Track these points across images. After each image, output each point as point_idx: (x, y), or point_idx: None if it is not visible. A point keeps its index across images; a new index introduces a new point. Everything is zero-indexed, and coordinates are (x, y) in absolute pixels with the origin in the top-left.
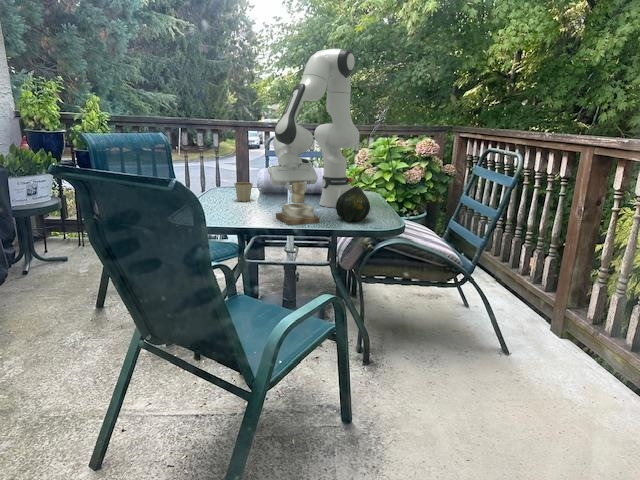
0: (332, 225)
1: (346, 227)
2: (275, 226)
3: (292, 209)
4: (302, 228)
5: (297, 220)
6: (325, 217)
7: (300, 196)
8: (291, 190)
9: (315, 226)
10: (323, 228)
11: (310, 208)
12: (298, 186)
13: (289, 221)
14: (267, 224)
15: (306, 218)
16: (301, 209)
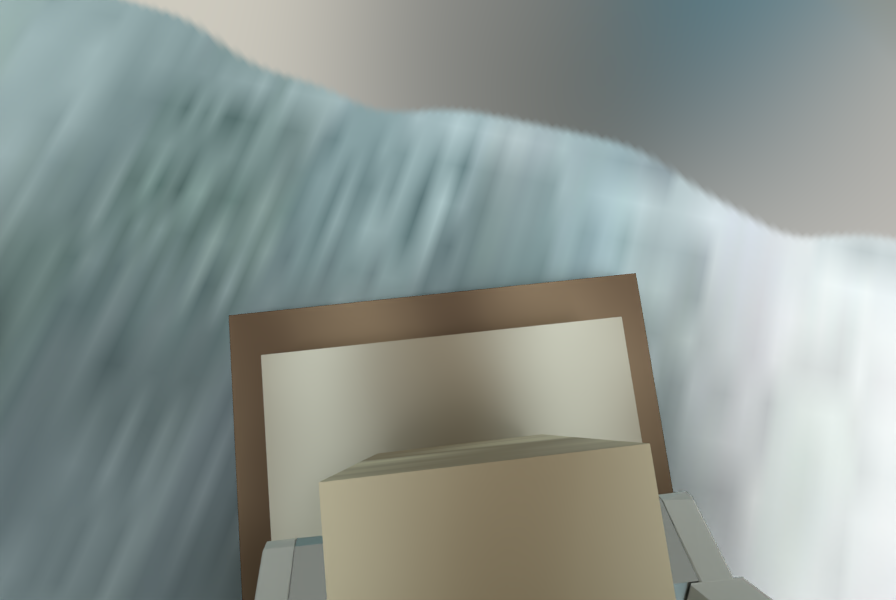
0: (158, 186)
1: (56, 81)
2: (756, 270)
3: (597, 321)
4: (505, 137)
5: (518, 288)
6: (56, 584)
7: (449, 449)
8: (681, 494)
9: (350, 184)
10: (301, 94)
11: (313, 351)
12: (526, 454)
13: (615, 276)
14: (827, 371)
15: (396, 323)
16: (458, 335)
